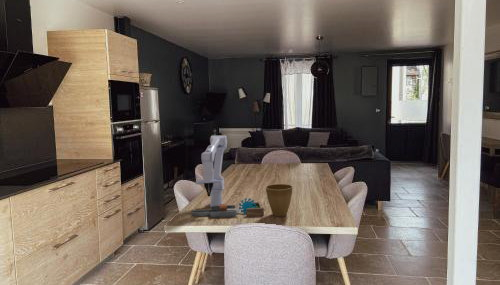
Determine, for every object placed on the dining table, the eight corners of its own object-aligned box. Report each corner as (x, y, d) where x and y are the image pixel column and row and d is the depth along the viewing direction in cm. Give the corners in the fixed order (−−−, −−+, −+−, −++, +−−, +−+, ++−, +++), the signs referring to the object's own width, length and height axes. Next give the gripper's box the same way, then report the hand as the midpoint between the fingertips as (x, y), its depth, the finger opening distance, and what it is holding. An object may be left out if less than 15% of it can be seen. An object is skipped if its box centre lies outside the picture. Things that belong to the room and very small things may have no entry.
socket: (192, 211, 219) (192, 206, 219) (235, 209, 221) (235, 204, 221) (190, 218, 205) (190, 213, 205) (236, 216, 207) (236, 211, 207)
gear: (236, 210, 213) (241, 195, 218) (237, 215, 217) (243, 201, 223) (254, 214, 209) (259, 199, 215) (256, 219, 214) (260, 204, 220)
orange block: (219, 212, 216) (219, 203, 215) (239, 211, 217) (238, 202, 216) (219, 214, 212) (219, 205, 211) (239, 213, 213) (239, 204, 212)
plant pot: (290, 210, 217) (290, 183, 216) (294, 218, 202) (294, 189, 201) (265, 211, 217) (264, 184, 215) (267, 219, 202) (266, 190, 200)
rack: (244, 209, 222) (244, 202, 221) (260, 208, 223) (260, 201, 222) (246, 216, 208) (246, 209, 208) (263, 215, 209) (263, 208, 208)
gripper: (195, 174, 211) (196, 198, 213) (221, 173, 212) (221, 197, 214) (195, 172, 218) (196, 195, 220) (220, 171, 219) (221, 194, 221)
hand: (209, 196), depth 217 cm, fingers closed
